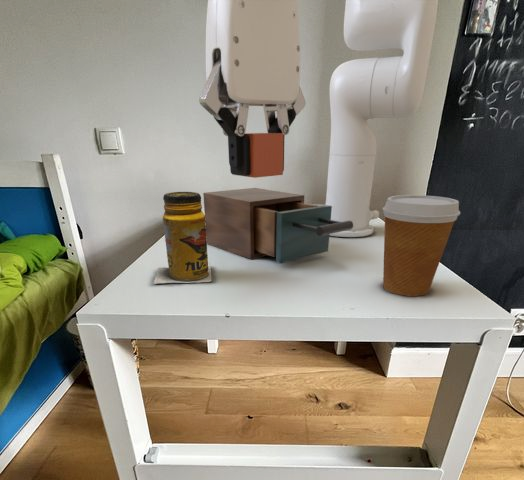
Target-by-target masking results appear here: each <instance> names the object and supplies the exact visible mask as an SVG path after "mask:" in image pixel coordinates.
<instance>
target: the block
mask: <svg viewBox="0 0 524 480" xmlns="http://www.w3.org/2000/svg"><path fill="white" fill-rule="evenodd" d="M245 136H249V139H250V175H249V176H245V177H246V178H253V179H255V178H264V177H265V178H267V177H277V176H283V175H284V171H283V140H284V141H285V137H284V133H268V132H245ZM232 176H235V175H234V174H232ZM237 176H238V177H239V176H240V177H243V176H242V175H237Z"/></svg>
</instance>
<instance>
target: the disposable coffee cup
mask: <svg viewBox="0 0 524 480" xmlns="http://www.w3.org/2000/svg"><path fill="white" fill-rule="evenodd" d="M459 205H460V201H459V200H457V199H454V198H450V197H444V196H437V195H423V194H421V195H418V194H417V195H416V194H405V195H404V194H401V195H393V196H392V195H391V196H389V197H387V199H386V202H385V205H384V206H383V207H382V211H383V216H384V240H383V241H384V242H383V273H382V274H383V275H382V276H383V277H382V287H383V289H384V290H386V291H388V292H390V293H392V294H396V295H398V296H399V295H400V296H409V297H419V296H424V295H427V294H428V293H429V292H430V290H431V286H432V284H433V281H434V278H435V275H436V273H437V271H438V267H439V265H440V262H441V259H442V256H443V253H444V251H445V248H446V246H447V243H448V241H449V237H450V235H451V231H452V229H453V226H454V224H455V221H457V220H458V217H459V216H460V215H461V211H460V208H459Z"/></svg>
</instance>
